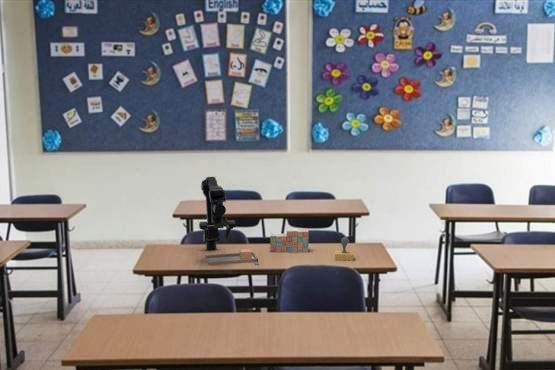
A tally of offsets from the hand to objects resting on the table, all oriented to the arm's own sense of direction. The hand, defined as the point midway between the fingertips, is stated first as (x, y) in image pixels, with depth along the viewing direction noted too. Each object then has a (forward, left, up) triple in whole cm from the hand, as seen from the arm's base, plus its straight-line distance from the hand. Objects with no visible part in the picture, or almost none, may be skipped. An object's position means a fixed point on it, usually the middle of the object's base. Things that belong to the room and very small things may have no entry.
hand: (217, 240), depth 331 cm
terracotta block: (0, +15, -10) cm, 18 cm away
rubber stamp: (+9, +67, -12) cm, 69 cm away
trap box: (+2, +7, -12) cm, 14 cm away
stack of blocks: (-13, +42, -12) cm, 46 cm away
